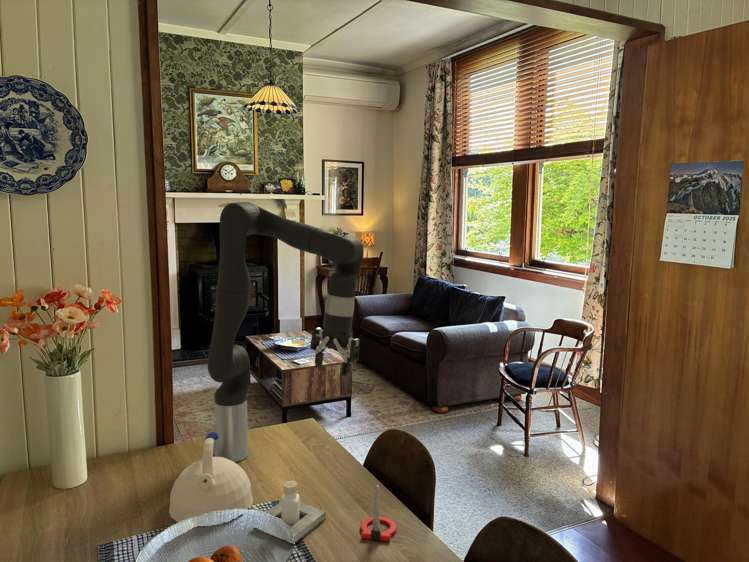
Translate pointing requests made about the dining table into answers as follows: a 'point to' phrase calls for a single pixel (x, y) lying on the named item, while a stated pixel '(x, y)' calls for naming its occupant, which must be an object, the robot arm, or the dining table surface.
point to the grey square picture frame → (302, 519)
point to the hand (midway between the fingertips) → (331, 371)
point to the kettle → (209, 485)
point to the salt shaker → (290, 503)
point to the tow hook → (377, 524)
